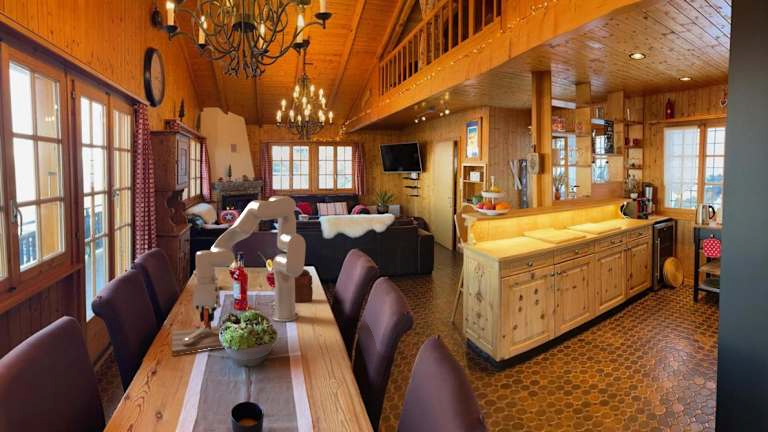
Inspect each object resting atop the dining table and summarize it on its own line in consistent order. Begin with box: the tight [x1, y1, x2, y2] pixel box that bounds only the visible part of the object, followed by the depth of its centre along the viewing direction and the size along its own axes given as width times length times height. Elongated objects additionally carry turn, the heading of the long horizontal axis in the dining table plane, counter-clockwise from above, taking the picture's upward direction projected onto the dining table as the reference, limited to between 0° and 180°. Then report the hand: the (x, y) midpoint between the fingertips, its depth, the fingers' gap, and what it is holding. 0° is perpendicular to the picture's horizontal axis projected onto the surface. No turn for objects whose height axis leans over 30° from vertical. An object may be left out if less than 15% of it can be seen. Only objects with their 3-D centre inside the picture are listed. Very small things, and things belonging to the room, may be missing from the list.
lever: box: [183, 307, 212, 346], centre depth 188 cm, size 18×4×10 cm, turn 170°
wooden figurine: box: [294, 268, 314, 303], centre depth 247 cm, size 12×6×18 cm, turn 105°
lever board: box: [171, 325, 222, 356], centre depth 190 cm, size 22×19×2 cm
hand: (207, 320), depth 195 cm, fingers closed on lever, 3 cm apart
